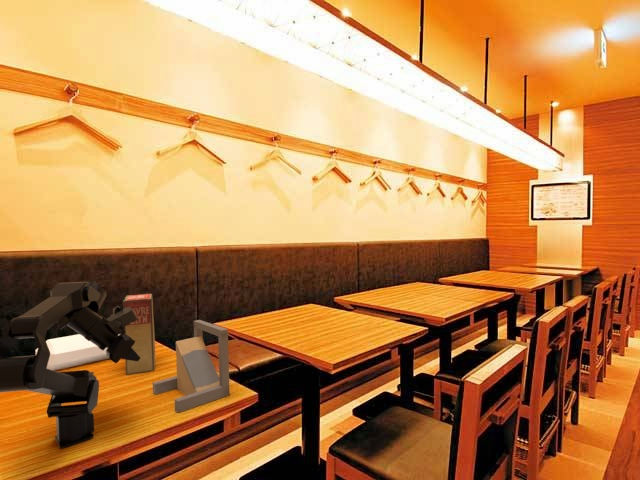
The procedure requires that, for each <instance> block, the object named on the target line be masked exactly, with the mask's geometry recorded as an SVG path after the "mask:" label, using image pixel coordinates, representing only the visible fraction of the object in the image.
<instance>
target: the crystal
mask: <svg viewBox="0 0 640 480" xmlns="http://www.w3.org/2000/svg"><path fill="white" fill-rule="evenodd" d="M120 334H121V333H120ZM120 334H119V335H120ZM45 341H46V343H47V346H48V348H49V351H50V357H49V361H48V364H47V369H50V370H53V371H58V370H64V369H67V368H68V369H69V368H72V367H77V366H82V365H85V364H90V363H94V362H99V361H104V360H108V359H109V358H108V357H107V356H106V350H107V349H108V348H105V349H104V350H101V349H100V348H99V347H98V346H96V345H95V344H94V343H92V342H91V341H88V340H86V339H85V338H84V337H83V336H82V335H80V334H79V333H77V334H73V335H68V336H62V337H55V338H50V339H47V340H45ZM34 351H35V355H36V354H37V351H38V347H37V348H36V349H35V350H34ZM109 360H110V359H109Z"/></svg>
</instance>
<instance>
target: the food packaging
mask: <svg viewBox="0 0 640 480" xmlns="http://www.w3.org/2000/svg"><path fill="white" fill-rule="evenodd" d="M122 306H123V307H122V308H123V309H124V308H125V307H130V308H131V309H132V310H133V312H134V313H135V315H136V317H137V320H136V321H135V322H132V323H130V324H128V325H127V326H125V327H123V328H124V333H125V334H127V335H128V336H129V337H131V338H132V339H133V340H135V343H134V345H133V346H132V349H133V350H134V351H135V352H136V353H137V354H138V356H139V357H140V360H139V361H131V360H125V376H128V375H129V376H130V375H136V374H137V375H138V374H143V373H149V372H155V370H156V369H155V368H156V341H155V340H156V337H155V320H154V302H153V294H152V293H142V294H131V295H130V294H128V295H126V296H125V297H124V300H123V301H122Z"/></svg>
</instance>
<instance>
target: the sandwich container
mask: <svg viewBox="0 0 640 480" xmlns="http://www.w3.org/2000/svg"><path fill="white" fill-rule="evenodd" d="M175 358H176V360H175V361H176V376H177V388H176V390H177V391H178V392H180V393H182V394H183V395H184V396H186V395H189V394H192V393H196V392H199V391H202V390H205V389H208V388H211V387H214V386H218V385H220V383H219V373H218V371H217V369H216V367H215V365H214V363H213V360H212V358H211V356H210V353H209V351H208V349H207V346H206V344H205V342H204V338H203V339H202V336H199V337H194V336H193V337H190V338H185V339H180V340H177V341H175Z"/></svg>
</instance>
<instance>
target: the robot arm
mask: <svg viewBox="0 0 640 480" xmlns="http://www.w3.org/2000/svg"><path fill="white" fill-rule="evenodd" d="M106 298H107V291H106V290H105V289H104V288H103V287H102V286H100V285H98V284H96V281H73V282H72V281H71V282H58V283H57V284H56V285H55V286H54V287H52V289H50V296H49V297H48V298H46V299H44V300H43V301H42V302H40V303H39V304H37V305H35V306H33V308H31V309H29V310H28V311H26V312H25V313H23V314H21V315H20V316H16V317H14V318H12V319H10V321H9V323H8V324H7V328H6V330H5V333H4V334H3V335H2V336H1V337H0V393H10V392H23V391H27V392H31V393H32V392H33V393H37V394H43V395H49V396H51V397H50V400H49V401H48V402H49V403H48V405H47V407H46V414H47V418H49V419H52V418H56V420H55V421H56V435H55V436H54V438H55V441H56V443H57V446H58V447H59V449H64V448H68V447H70V446H72V445H75V444H78V443H82V442H84V441H87V440H90V439H93V438H94V436H95V435H94V431H95V414H94V413H93V412H92V411H94V409H95V408H96V407H97V406H98V401H99V391H100V382H99V380H98V379H97V376H96V375H94V374H95V373H94V371H89V370H87V369H83V370H70V371H68V370H67V371H57V370H55V371H53V370H50V369H47V364H48V361H49V357H50V351H49V348H48V346H47V343H46V341H47V340H46V339H45V338H46V335H47V331H48V330H49V329H50V328H52V326H54V325H55V324H56V323H57V328H58V330H62V329H63V328H65V327H66V326H67V327H69V328H70V329H71V330H73V331H74V332H76V333H77V334H80V335H82V336H83V337H84V338H85V339H86V340H88V341H91V342H92V343H94V344H95V345H96V346H98V347H99V348H100V349H101V350H104V349H105V348H108V349H107V350H106V356H107V357H108V358H109V360H110V361H112V363H114V364H117V363H119V362H120V360H125V361H126V360H131V361H139V360H140V357H139V356H138V354H137V353H136V352H135V351H134V350H133V349H132V346H133V345H134V343H135V340H133V339H132V338H131V337H129V336H128V335H127V334H125V332H123V330H122V329H123V328H124V327H125V326H127V325H128V324H130V323H132V322H135V321H136V320H137V317H136V315H135V313H134V312H133V310H132V309H131V308H130V307H125V308H123V307H121V306H119V305H117V306H115V307H113V308H112V314H111V315H110V316H109V317H107V318H106V317H104V316H103V315H102V316H101V315H99V314H98V312H99V310H100V309H101V306H102V305H103V302H104V301H105V299H106ZM119 334H120V335H119ZM21 339H34V340H35V343H36V346H37V348H38V351H37V354H36V353H35V355H24V356H23V355H21V356H19V355H18V356H8V357H7V356H6V357H5V355H7V354H8V353H9V351H11V350H12V348H13V347H14V346H15V345H16V344H17V343H18V342H19V340H21ZM82 402H86V403H82ZM70 403H73V404H70ZM74 403H77V404H74ZM62 404H67V405H62Z"/></svg>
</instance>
